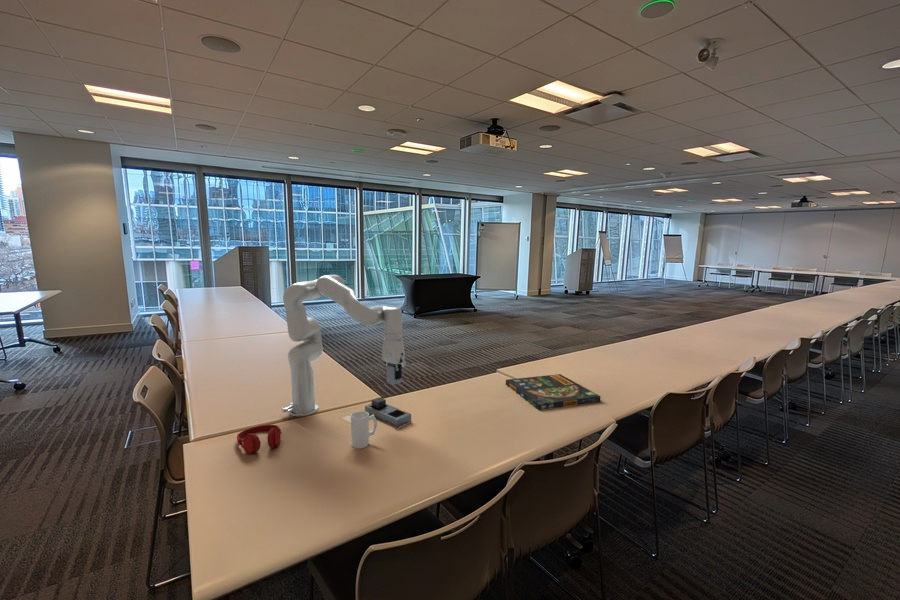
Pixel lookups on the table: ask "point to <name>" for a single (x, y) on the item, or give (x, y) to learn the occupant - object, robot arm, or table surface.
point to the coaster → (347, 419)
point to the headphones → (252, 440)
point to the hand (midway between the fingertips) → (394, 377)
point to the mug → (361, 428)
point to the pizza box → (552, 391)
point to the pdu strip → (388, 413)
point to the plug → (392, 374)
